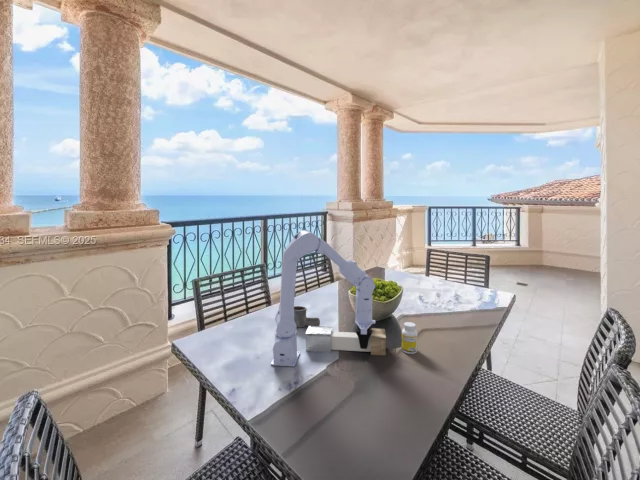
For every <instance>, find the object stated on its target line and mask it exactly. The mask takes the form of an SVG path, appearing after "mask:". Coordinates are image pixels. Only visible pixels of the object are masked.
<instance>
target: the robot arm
mask: <svg viewBox="0 0 640 480" xmlns="http://www.w3.org/2000/svg"><path fill="white" fill-rule="evenodd" d="M314 252H316V254H323V255H325V256H326V257H327V258H328V259H329V260H331V261H332V262H333V263H334V264H335V265H336V266H338V271H339V274H341V275H342V276H343V277H344V278H345V279H346V280H347V281H348V282H350V283H351V284H352V285H353V286H354V287H355V320H354V322H355V325H356V328H355V333H356V334H357V336H358V338H359V343H360V348H361V349H367V346H368V341H369V337H370V335H371V334H372V330H371V328H372V325H375V324H376V319H373V292H374V290H375V288H376V284H375V282H374V279H373V278H372V277H370V276H369V275H367V271H365V270H363V269H361V268H360V267H359V266H358V263H357V262H356V261H355V260H351V259H345V258H343V257H342V256H341V255H340V254H339V252H337V251H336V250H335V248H334V247H332V246H331V244H329V243H328V242H326V241H325V240H323V239H322V238H320V237H319V236H317V234H315V233H312V231H310V230H307V229H305V230H304V229H303V230H301V231H299V232H298V233H296V234H294V235H293V237H292V239H291V241H290V242H289V243H288V244H287V246H286V247H285V248H284V249H283V252H282V261H281V262H282V263H281V264H282V266H281V275H280V276H281V278H280V280H281V281H280V294H279V295H280V296H279V297H280V298H279V305H278V311H277V313H276V315H275V318H274V319H275V324H276V330H274V344H273V347H272V351H273V352H272V353H273V356H272V357H273V359H272V361H271V362H270V365H271V366H277V367H278V366H279V367H280V366H281V367H296V364H297V361H298V359H299V356H300V354H301V351H298V344H297V343H298V340H297V339H298V337H297V334H298V333H297V329H298V327H296V323H295V321H294V306H295V296H296V294H295V293H296V281H297V268H298V267H297V265H298V260H300V259H301V258H303V256H305V255H308V254H312V253H314Z"/></svg>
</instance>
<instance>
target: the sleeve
mask: <svg viewBox="0 0 640 480" xmlns="http://www.w3.org/2000/svg"><path fill="white" fill-rule="evenodd" d="M332 332H333V326H320V325H319V326H309V327H307V329H306V331H305V351H306V352H320V353H331V352H332V350H331V333H332Z"/></svg>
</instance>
